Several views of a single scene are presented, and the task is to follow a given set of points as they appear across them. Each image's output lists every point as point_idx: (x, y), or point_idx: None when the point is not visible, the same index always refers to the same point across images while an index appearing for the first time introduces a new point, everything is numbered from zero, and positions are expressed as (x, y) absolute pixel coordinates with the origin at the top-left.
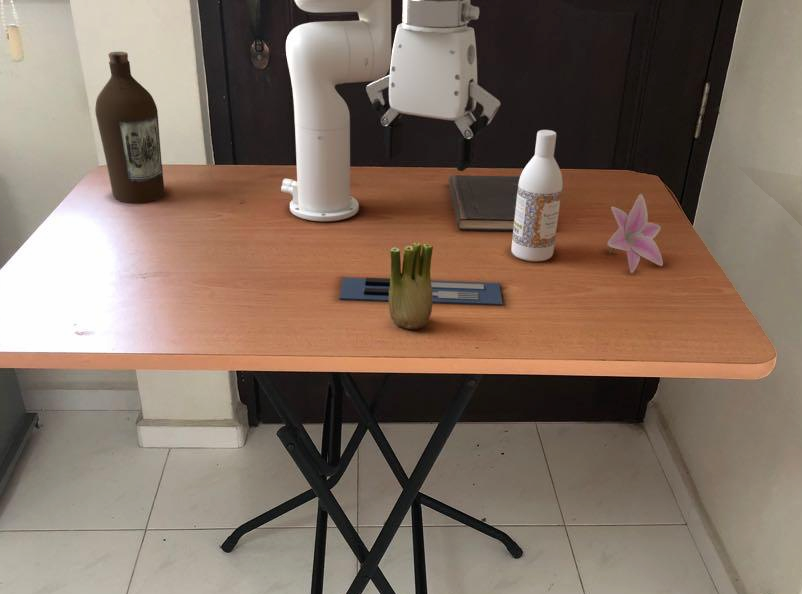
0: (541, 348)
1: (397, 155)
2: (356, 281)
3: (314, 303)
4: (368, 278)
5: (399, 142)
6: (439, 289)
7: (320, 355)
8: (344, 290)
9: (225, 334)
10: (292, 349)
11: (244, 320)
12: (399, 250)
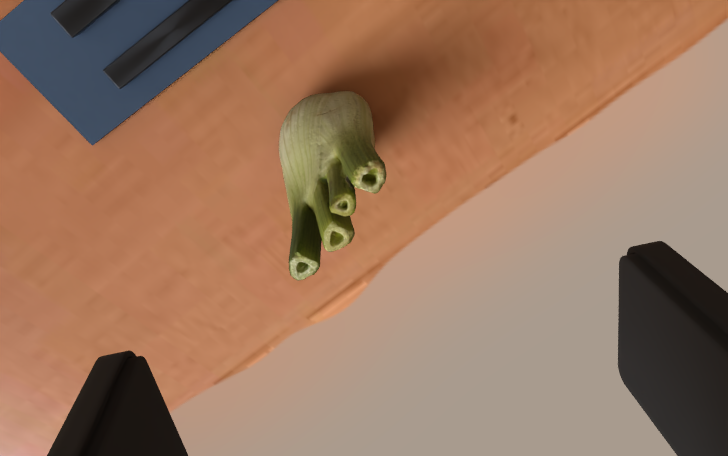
0: (647, 18)
1: (165, 404)
2: (34, 30)
3: (66, 199)
4: (61, 14)
5: (136, 447)
6: None
7: (267, 343)
8: (62, 102)
9: (64, 403)
10: (209, 361)
11: (34, 349)
12: (317, 264)
